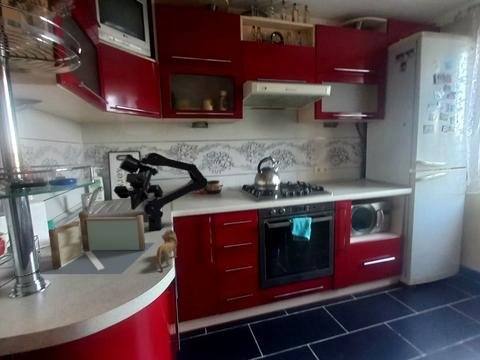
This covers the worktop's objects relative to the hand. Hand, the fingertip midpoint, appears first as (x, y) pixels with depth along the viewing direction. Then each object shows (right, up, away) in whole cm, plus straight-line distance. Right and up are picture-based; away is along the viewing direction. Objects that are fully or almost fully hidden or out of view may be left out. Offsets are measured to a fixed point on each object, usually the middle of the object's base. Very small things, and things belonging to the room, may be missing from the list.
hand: (132, 209), depth 96 cm
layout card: (-4, -15, -14) cm, 20 cm away
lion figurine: (+19, -15, -19) cm, 30 cm away
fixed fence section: (-13, -15, -15) cm, 25 cm away
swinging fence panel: (-1, -13, -9) cm, 16 cm away
